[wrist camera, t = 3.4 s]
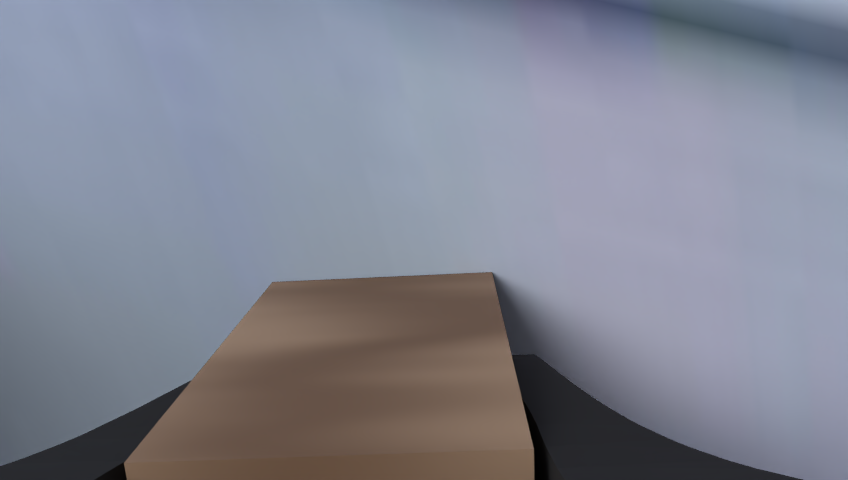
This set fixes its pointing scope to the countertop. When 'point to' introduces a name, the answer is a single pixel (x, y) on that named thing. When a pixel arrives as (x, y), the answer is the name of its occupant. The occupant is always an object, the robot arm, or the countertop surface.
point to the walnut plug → (352, 389)
